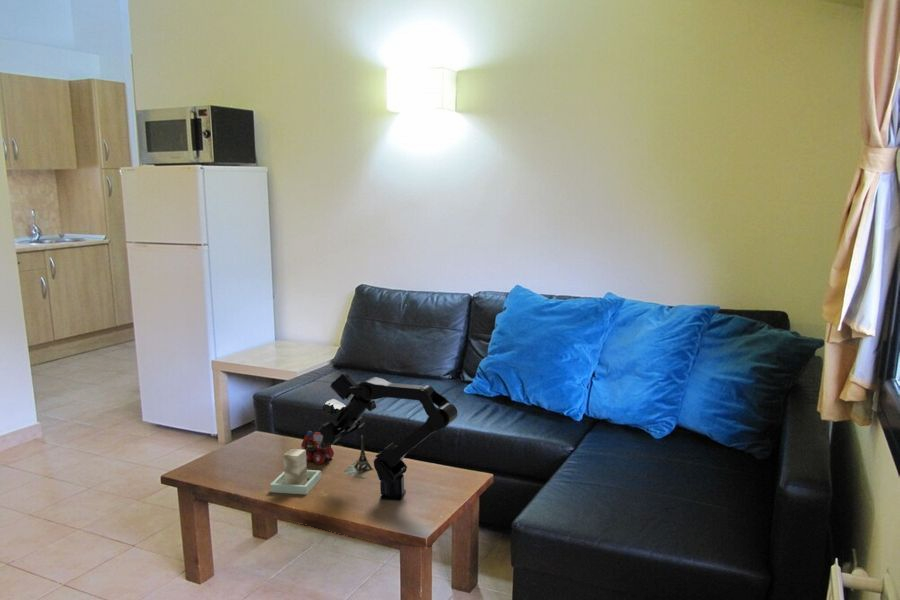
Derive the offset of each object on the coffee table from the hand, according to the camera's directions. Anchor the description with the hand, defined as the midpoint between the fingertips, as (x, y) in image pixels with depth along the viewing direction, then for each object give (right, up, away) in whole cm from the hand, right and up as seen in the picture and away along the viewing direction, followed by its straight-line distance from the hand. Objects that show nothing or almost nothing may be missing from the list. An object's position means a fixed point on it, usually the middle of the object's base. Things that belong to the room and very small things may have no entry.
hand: (329, 442), depth 213 cm
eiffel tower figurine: (+9, -12, +14) cm, 21 cm away
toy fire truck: (-8, -11, +22) cm, 26 cm away
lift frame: (-11, -14, +2) cm, 18 cm away
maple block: (-11, -14, +2) cm, 18 cm away
